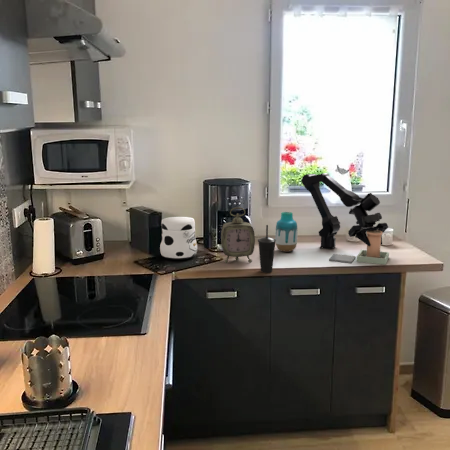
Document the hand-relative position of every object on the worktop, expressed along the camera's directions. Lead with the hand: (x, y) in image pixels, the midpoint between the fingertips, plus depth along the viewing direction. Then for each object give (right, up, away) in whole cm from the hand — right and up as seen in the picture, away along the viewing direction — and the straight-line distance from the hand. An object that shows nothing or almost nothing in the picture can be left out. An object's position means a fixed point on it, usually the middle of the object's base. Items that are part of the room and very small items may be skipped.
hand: (375, 245), depth 230 cm
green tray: (-1, -7, +3) cm, 7 cm away
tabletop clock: (-63, -8, +1) cm, 63 cm away
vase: (-38, -4, +18) cm, 43 cm away
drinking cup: (-51, -11, -14) cm, 54 cm away
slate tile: (-14, -7, +3) cm, 16 cm away
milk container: (-90, -6, +8) cm, 90 cm away
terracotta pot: (-1, -7, +3) cm, 7 cm away
